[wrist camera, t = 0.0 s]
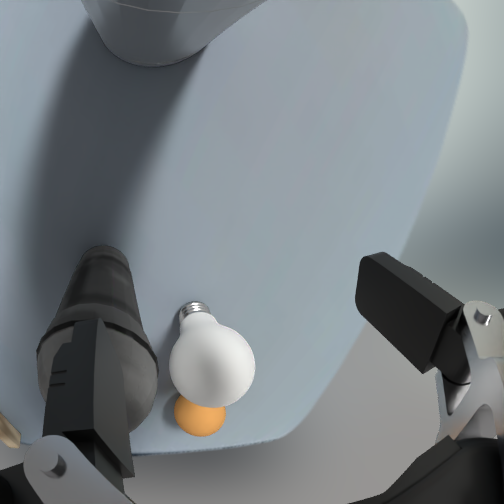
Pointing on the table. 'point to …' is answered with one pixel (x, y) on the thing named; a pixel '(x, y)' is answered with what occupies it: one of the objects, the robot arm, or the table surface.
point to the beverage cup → (116, 322)
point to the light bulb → (209, 359)
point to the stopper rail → (9, 433)
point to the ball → (198, 417)
